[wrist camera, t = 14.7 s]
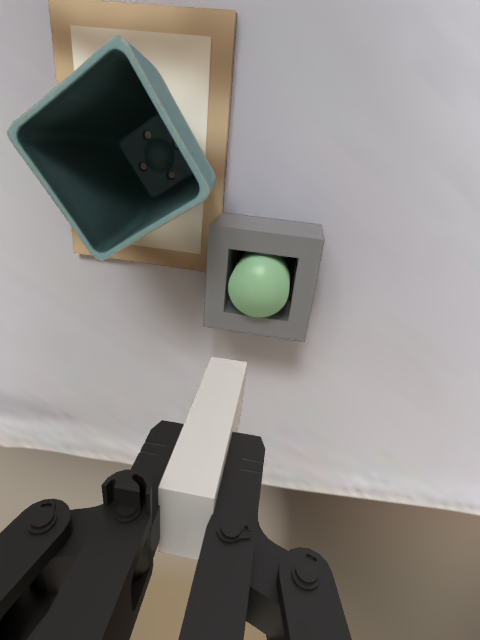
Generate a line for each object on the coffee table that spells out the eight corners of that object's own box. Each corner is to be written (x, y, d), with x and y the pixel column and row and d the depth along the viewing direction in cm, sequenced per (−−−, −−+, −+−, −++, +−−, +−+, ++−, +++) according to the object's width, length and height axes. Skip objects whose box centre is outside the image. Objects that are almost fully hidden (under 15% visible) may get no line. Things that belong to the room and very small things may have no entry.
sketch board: (53, -1, 26) (47, -4, 26) (236, 13, 25) (235, 10, 25) (77, 251, 34) (73, 253, 34) (218, 270, 33) (216, 273, 33)
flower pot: (148, 234, 32) (96, 266, 24) (83, 133, 29) (1, 130, 21) (238, 180, 29) (213, 196, 21) (175, 62, 26) (119, 29, 18)
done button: (240, 239, 31) (230, 255, 27) (294, 246, 30) (293, 264, 26) (235, 290, 33) (225, 312, 28) (286, 297, 32) (284, 321, 28)
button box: (222, 212, 31) (209, 224, 26) (321, 224, 30) (324, 239, 26) (216, 302, 34) (203, 326, 30) (304, 315, 34) (304, 342, 29)
